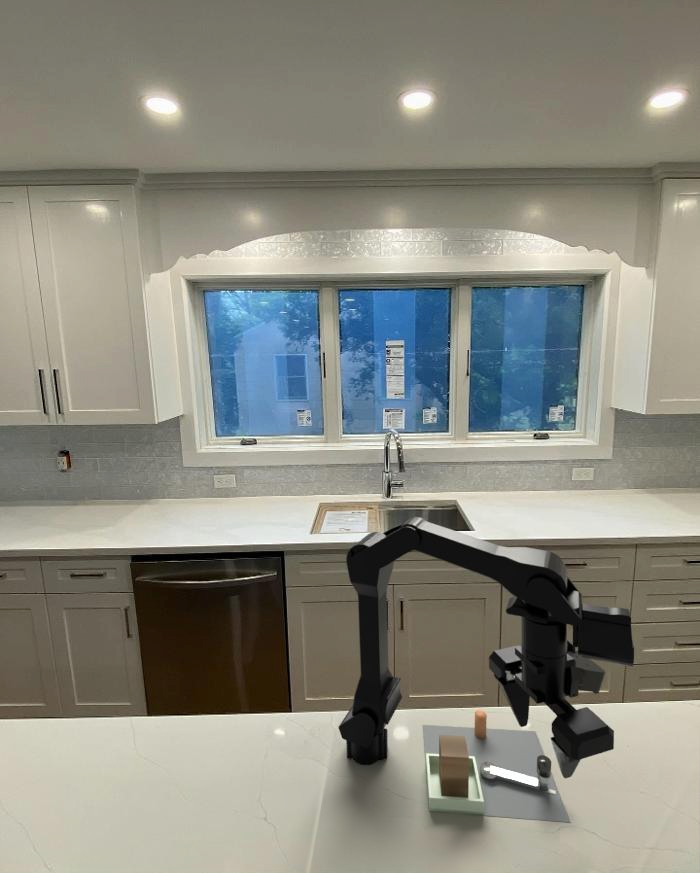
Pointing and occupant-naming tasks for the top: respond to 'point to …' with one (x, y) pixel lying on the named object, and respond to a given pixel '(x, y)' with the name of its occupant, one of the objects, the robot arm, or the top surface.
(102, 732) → the top surface
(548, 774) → the crank
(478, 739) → the plate
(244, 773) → the top surface
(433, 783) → the tray
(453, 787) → the block
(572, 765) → the robot arm
